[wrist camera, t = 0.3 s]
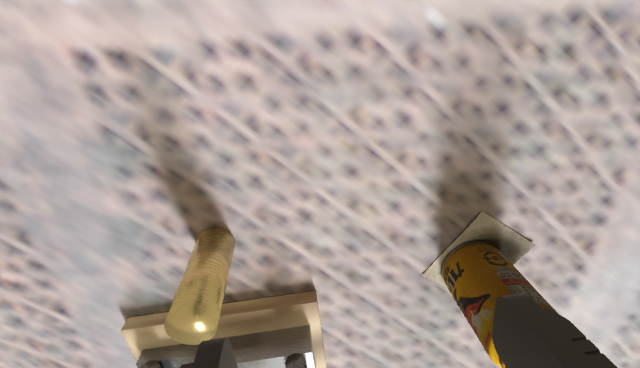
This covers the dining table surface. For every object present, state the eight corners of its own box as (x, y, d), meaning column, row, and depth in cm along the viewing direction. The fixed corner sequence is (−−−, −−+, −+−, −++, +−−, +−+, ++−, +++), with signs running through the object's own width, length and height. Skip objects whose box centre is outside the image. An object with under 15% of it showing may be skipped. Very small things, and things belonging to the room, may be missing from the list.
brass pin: (192, 230, 29) (157, 312, 21) (230, 225, 29) (210, 305, 21) (202, 260, 30) (172, 348, 22) (238, 255, 30) (222, 340, 22)
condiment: (421, 274, 33) (486, 395, 23) (481, 210, 31) (587, 312, 20) (472, 300, 36) (553, 421, 25) (532, 242, 33) (652, 350, 22)
